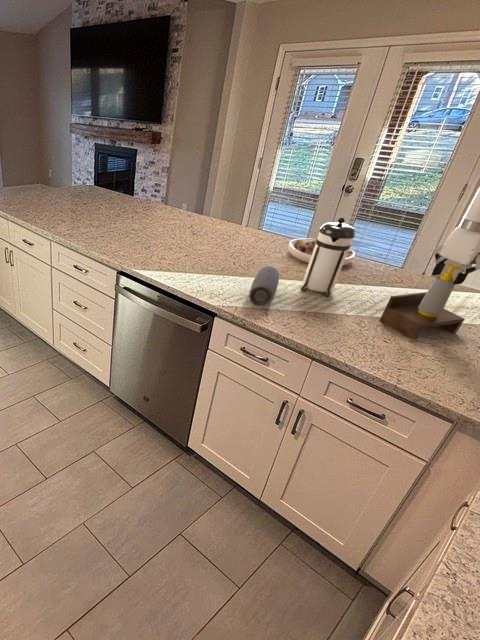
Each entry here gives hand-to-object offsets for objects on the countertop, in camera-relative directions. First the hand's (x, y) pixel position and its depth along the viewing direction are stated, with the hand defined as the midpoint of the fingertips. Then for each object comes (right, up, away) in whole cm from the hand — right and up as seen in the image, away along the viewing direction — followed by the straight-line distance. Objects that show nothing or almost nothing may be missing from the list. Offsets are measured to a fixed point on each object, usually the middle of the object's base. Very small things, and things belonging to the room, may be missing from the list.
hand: (446, 278), depth 138 cm
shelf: (-1, -15, +11) cm, 19 cm away
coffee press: (-25, +2, +37) cm, 44 cm away
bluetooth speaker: (-52, -3, +27) cm, 58 cm away
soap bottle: (-1, -11, +7) cm, 13 cm away
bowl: (-6, +23, +69) cm, 73 cm away
